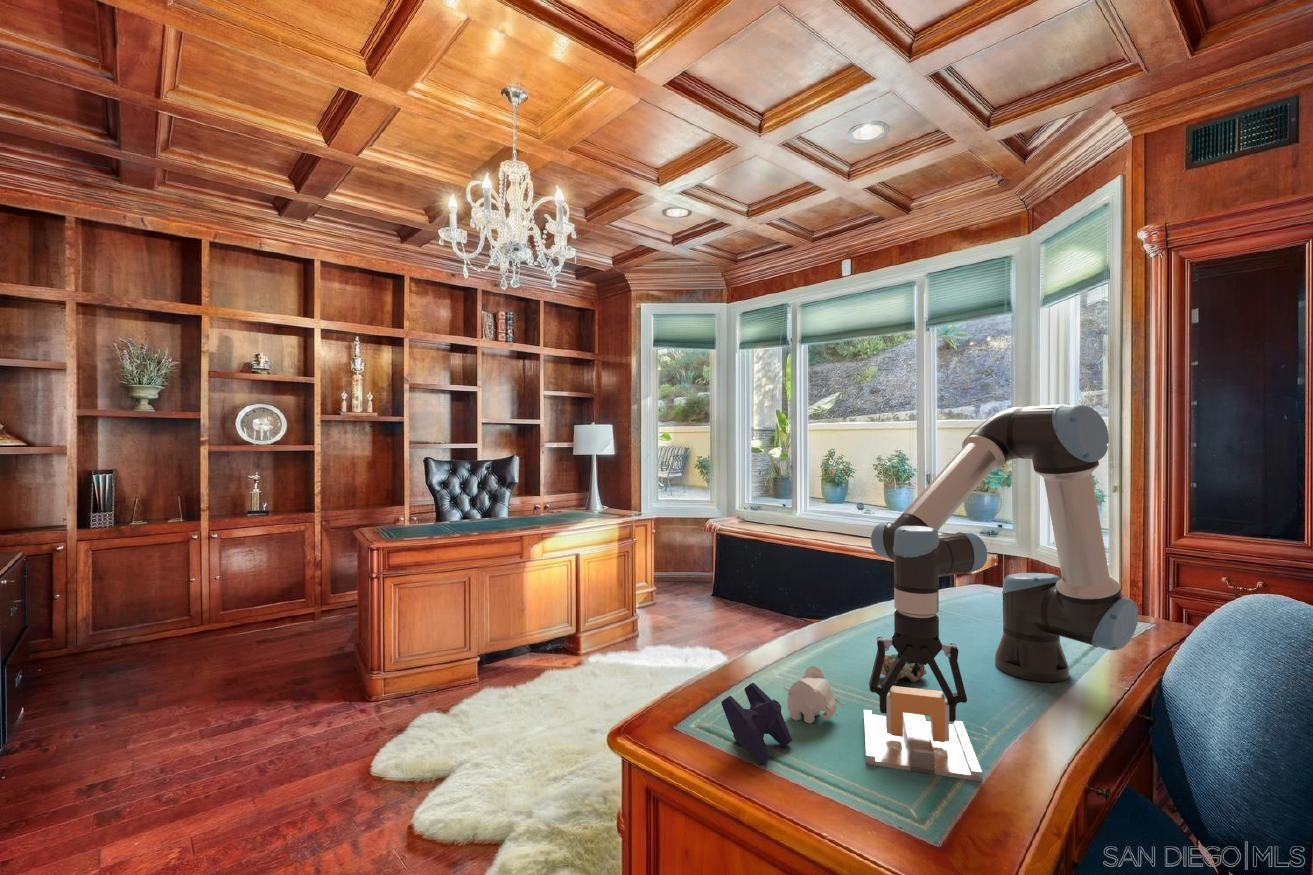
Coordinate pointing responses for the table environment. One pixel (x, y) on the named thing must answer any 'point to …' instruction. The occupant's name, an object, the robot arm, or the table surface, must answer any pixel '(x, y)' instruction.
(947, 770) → the rail
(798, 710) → the elephant figurine
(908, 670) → the mineral specimen
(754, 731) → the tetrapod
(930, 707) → the clip
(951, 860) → the table surface
